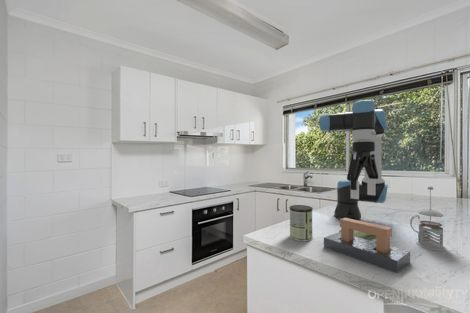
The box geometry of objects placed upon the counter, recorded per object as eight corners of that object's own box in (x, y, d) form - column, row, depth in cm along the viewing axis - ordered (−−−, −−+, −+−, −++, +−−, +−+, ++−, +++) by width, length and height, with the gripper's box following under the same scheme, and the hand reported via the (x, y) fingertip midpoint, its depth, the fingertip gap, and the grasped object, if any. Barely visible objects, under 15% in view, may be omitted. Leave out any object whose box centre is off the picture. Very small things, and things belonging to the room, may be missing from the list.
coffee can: (290, 232, 112) (290, 204, 112) (312, 235, 109) (312, 205, 109) (288, 239, 102) (288, 208, 102) (312, 242, 99) (312, 210, 99)
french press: (449, 252, 89) (449, 188, 89) (412, 246, 95) (411, 186, 95) (443, 244, 97) (443, 186, 97) (409, 239, 103) (409, 184, 103)
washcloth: (336, 234, 111) (336, 228, 111) (356, 228, 120) (356, 222, 120) (364, 243, 100) (364, 235, 100) (383, 235, 109) (383, 229, 109)
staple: (340, 248, 93) (340, 219, 93) (345, 246, 95) (345, 217, 95) (387, 264, 79) (387, 229, 79) (391, 261, 81) (391, 227, 81)
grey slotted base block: (323, 247, 94) (323, 237, 94) (339, 240, 101) (339, 231, 101) (397, 273, 73) (397, 260, 73) (410, 262, 80) (410, 251, 80)
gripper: (357, 139, 77) (357, 202, 77) (387, 142, 92) (387, 194, 92) (336, 140, 83) (336, 198, 83) (367, 143, 98) (367, 192, 98)
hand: (363, 196), depth 87 cm, fingers open, 13 cm apart
